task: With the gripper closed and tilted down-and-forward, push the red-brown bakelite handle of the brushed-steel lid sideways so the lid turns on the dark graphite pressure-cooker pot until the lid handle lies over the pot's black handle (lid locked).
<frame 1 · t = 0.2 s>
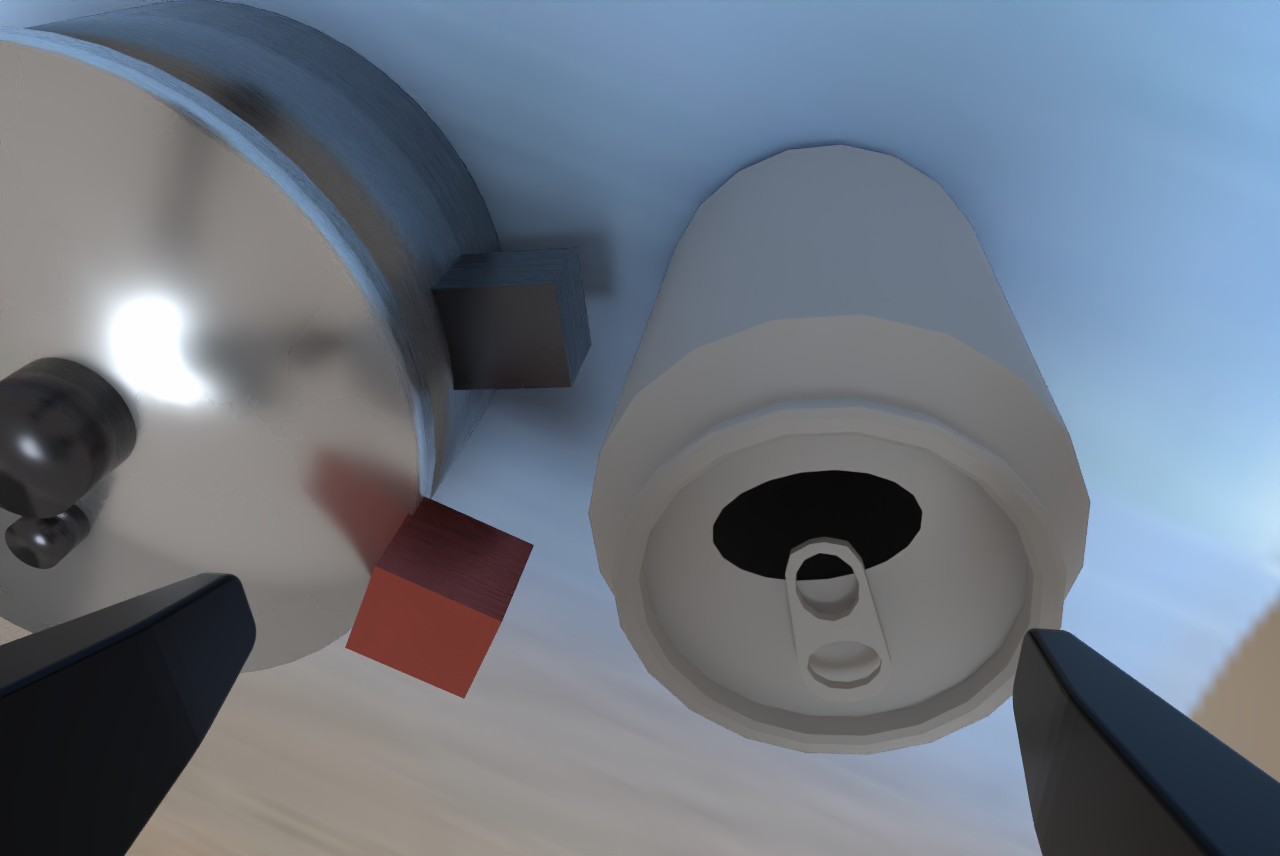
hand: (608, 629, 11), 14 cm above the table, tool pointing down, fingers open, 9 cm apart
can: (821, 286, 23), on the table
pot: (260, 280, 25), on the table
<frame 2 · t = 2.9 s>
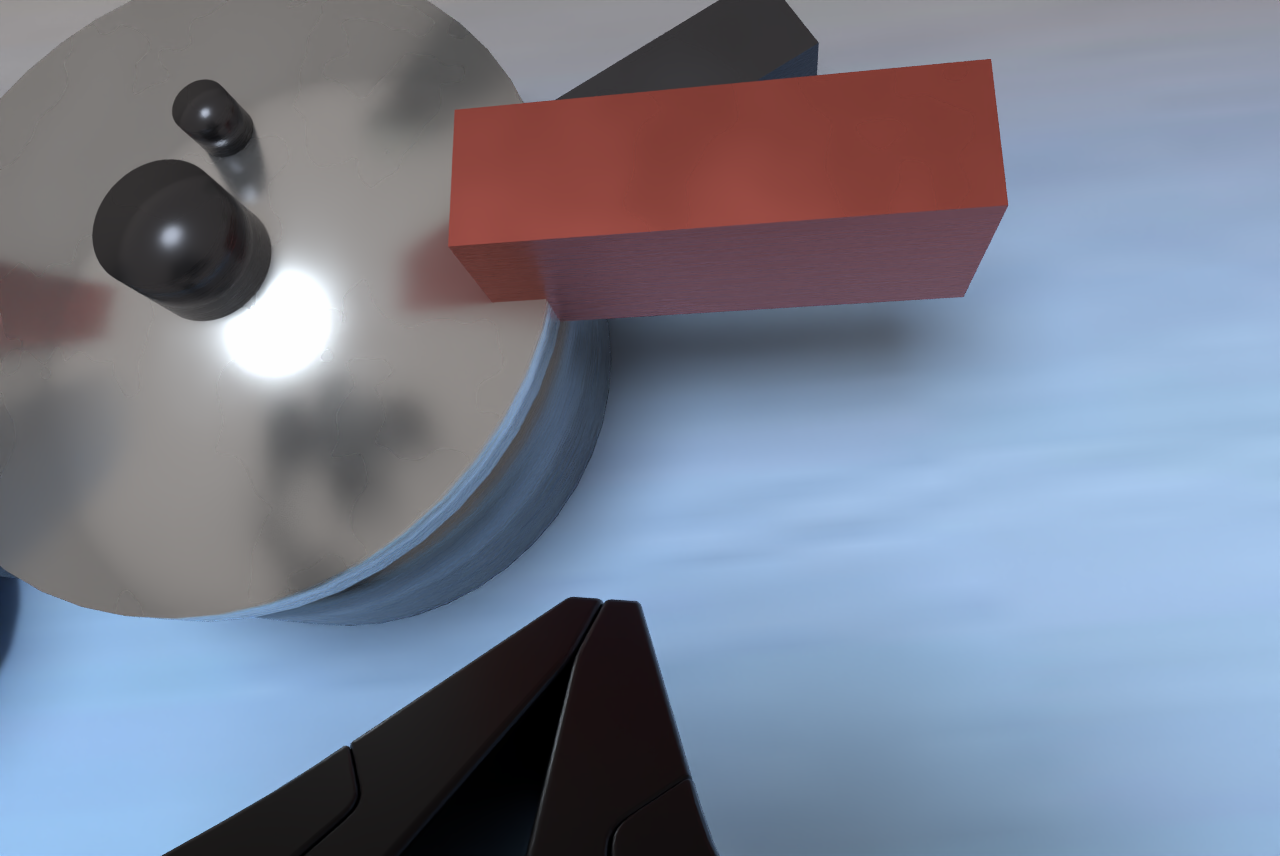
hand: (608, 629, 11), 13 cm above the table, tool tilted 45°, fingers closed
lid: (320, 238, 18), point 8 cm above the table, hinge at -30.0°
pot: (366, 372, 26), on the table
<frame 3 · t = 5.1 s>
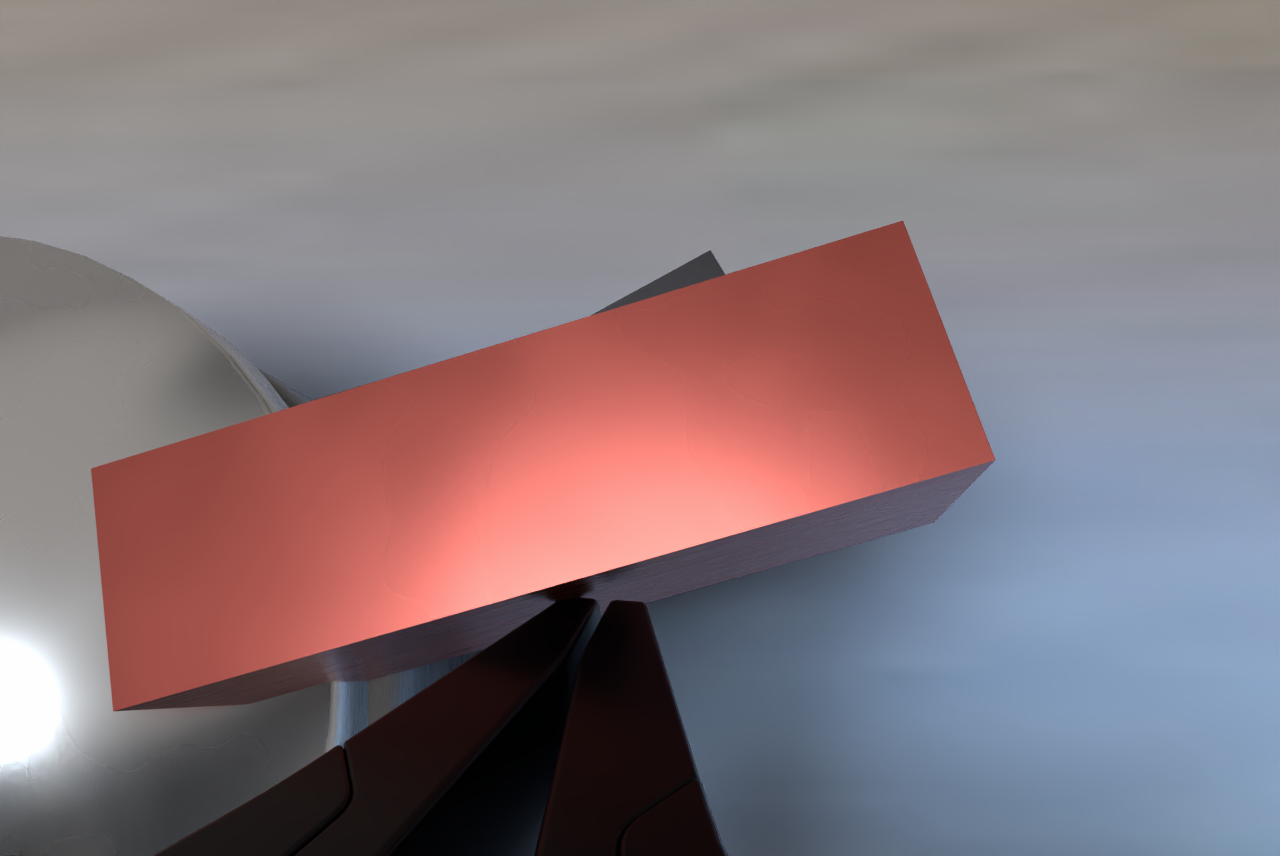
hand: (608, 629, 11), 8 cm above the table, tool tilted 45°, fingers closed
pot: (170, 706, 20), on the table
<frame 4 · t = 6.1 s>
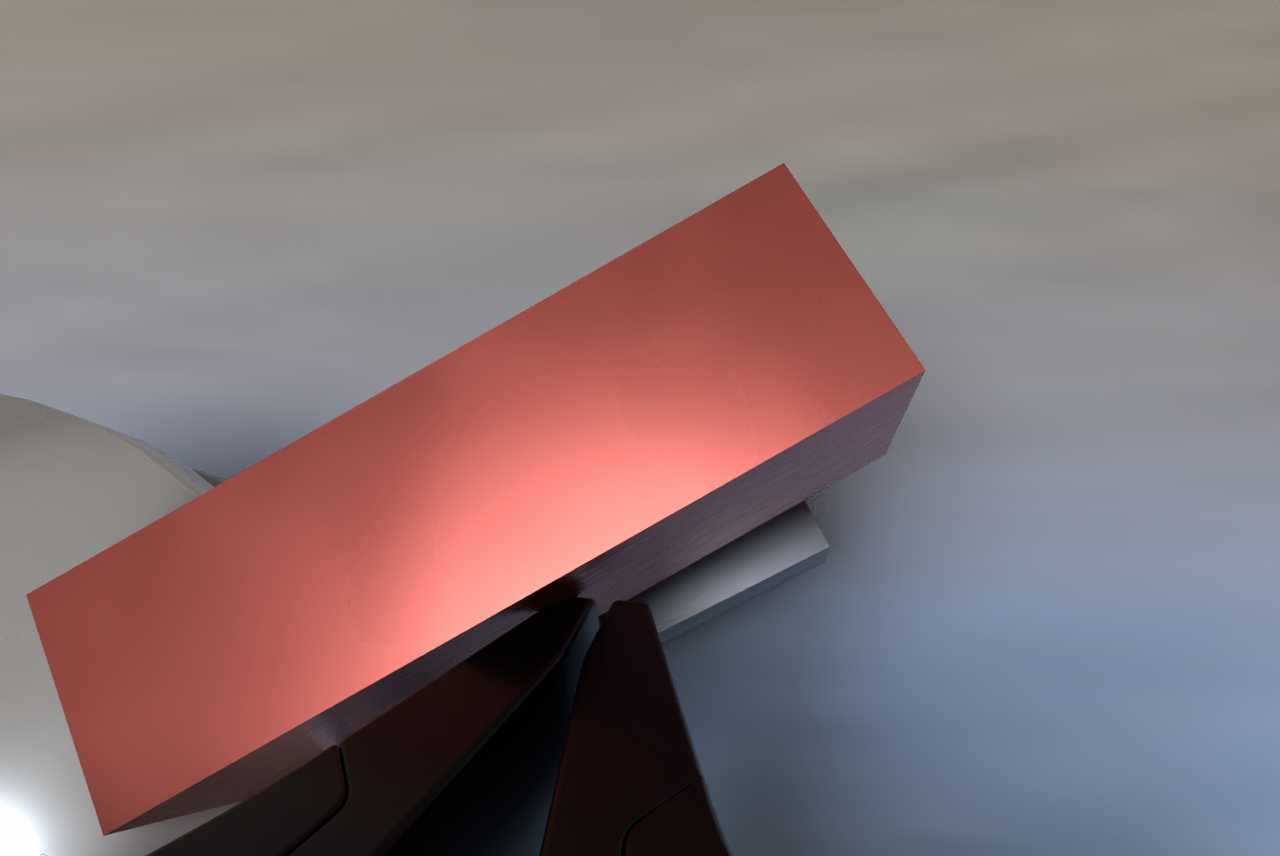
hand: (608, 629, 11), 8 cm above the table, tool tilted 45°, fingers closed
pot: (172, 832, 19), on the table
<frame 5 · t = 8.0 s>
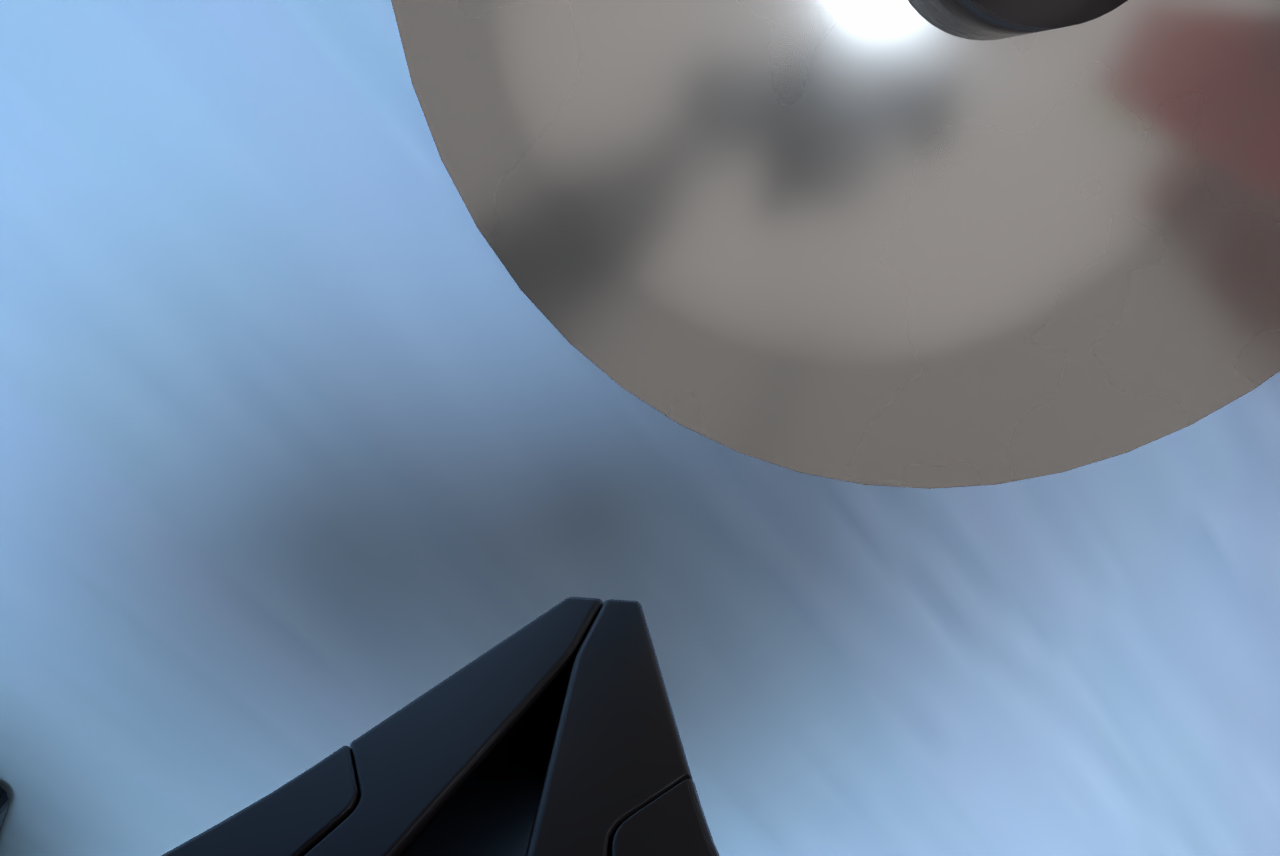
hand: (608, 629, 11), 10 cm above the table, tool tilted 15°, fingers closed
lid: (1220, 14, 11), point 8 cm above the table, hinge at 2.7°
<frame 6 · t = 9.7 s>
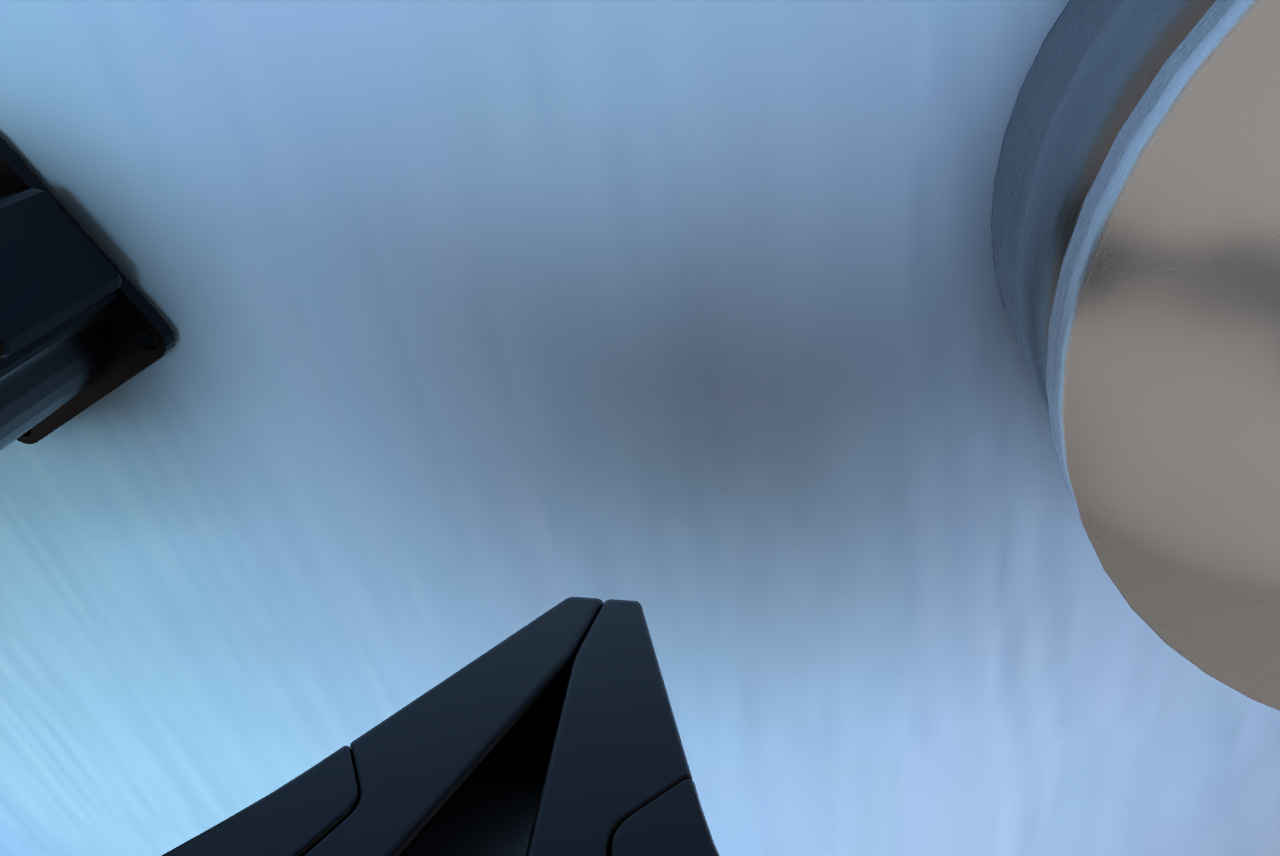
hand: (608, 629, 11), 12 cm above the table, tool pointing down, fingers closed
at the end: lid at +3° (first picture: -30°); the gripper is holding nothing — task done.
